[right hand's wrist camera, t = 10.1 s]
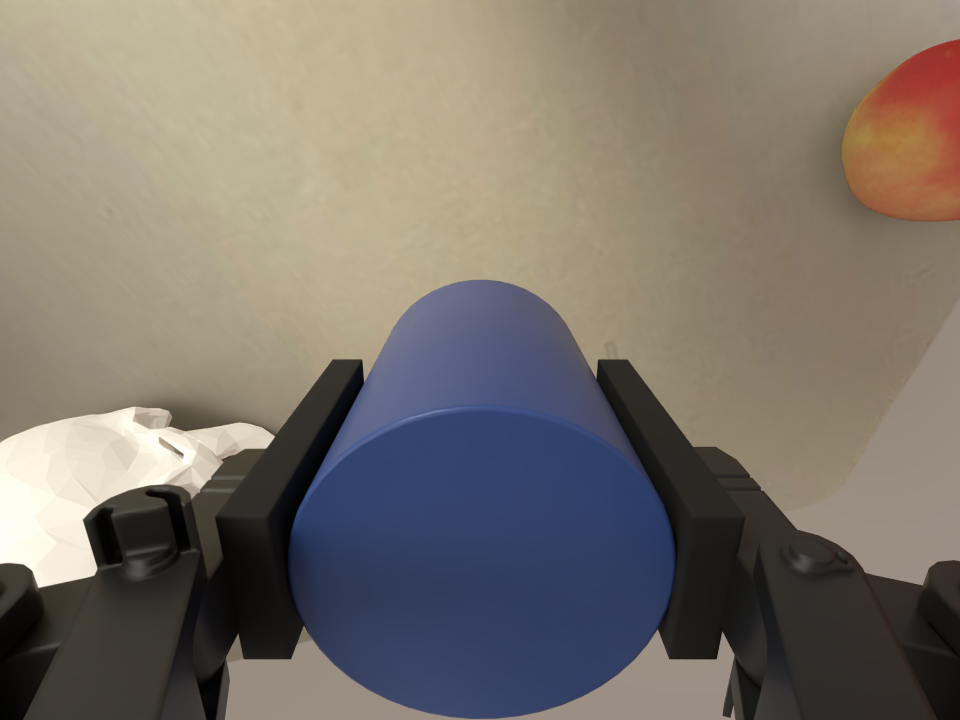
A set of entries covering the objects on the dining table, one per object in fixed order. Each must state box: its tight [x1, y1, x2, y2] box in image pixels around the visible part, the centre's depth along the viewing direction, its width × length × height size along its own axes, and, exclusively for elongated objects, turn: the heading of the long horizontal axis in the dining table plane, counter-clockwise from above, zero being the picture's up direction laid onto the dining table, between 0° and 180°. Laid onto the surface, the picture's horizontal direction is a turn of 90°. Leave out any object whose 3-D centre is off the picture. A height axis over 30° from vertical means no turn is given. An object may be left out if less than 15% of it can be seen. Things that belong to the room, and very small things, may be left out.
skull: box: [0, 407, 275, 588], centre depth 34 cm, size 13×22×16 cm, turn 87°
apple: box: [842, 39, 960, 221], centre depth 29 cm, size 10×10×10 cm
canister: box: [288, 280, 676, 719], centre depth 12 cm, size 6×6×8 cm
